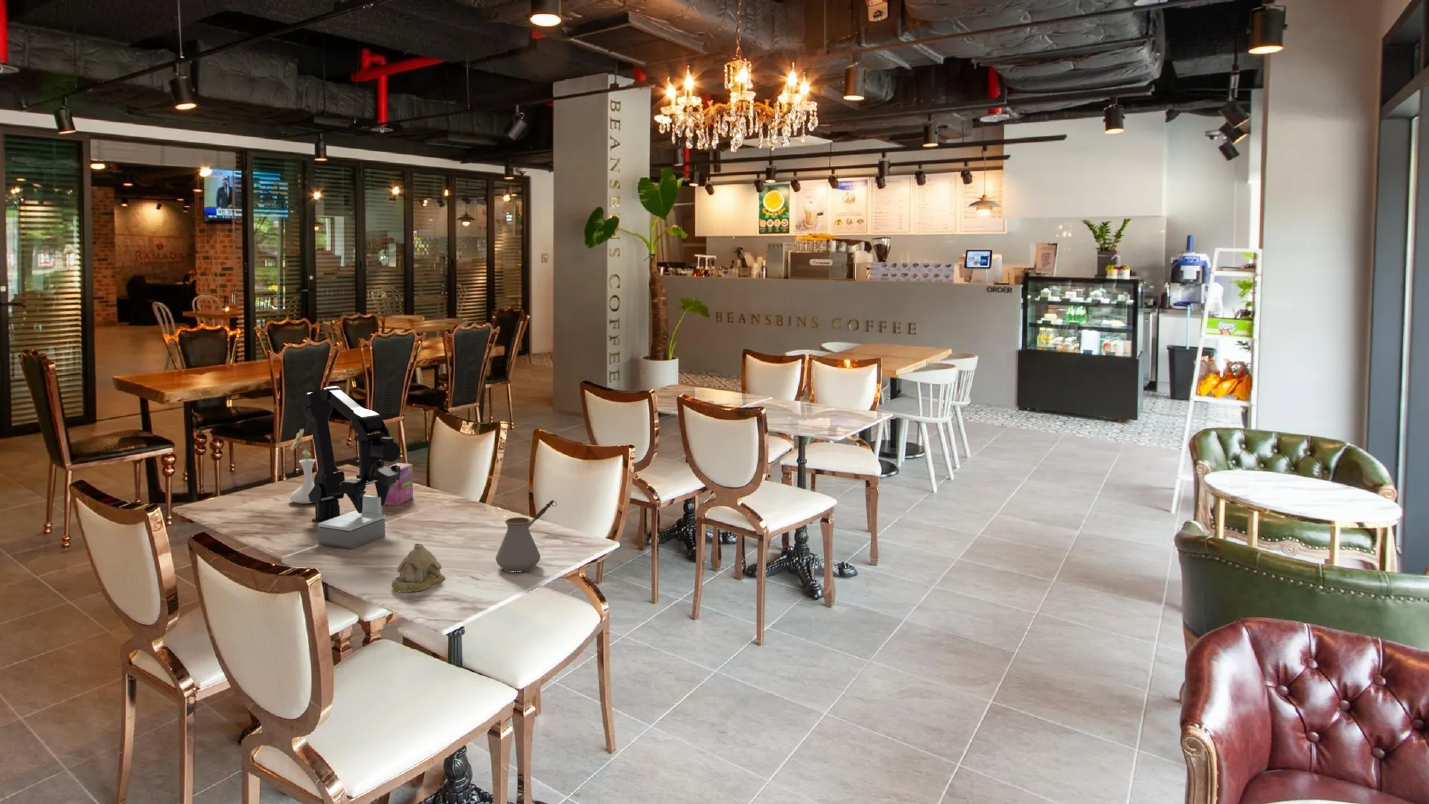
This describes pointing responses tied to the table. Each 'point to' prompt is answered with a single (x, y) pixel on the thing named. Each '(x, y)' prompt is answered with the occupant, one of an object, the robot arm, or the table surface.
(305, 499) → the flower in vase
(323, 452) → the robot arm
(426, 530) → the table surface
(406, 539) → the table surface
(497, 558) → the coffee pot
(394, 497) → the box
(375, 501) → the lid
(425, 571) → the ceramic model
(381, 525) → the tub
